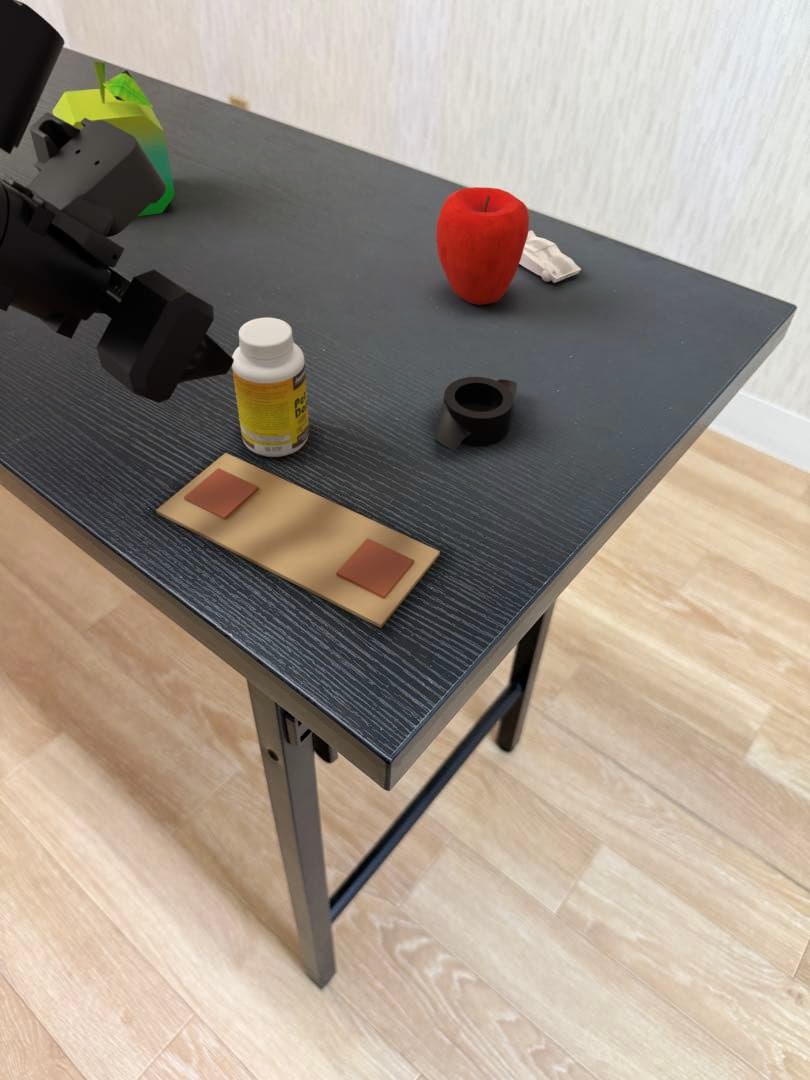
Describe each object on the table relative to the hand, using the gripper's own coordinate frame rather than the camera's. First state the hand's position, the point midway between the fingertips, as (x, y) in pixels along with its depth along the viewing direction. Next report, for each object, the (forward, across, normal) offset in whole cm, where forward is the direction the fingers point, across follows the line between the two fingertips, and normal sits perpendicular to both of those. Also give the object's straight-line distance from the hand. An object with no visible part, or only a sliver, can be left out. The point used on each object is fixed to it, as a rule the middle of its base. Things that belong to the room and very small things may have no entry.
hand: (189, 337), depth 55 cm
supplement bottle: (+13, 0, +4) cm, 14 cm away
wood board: (+9, -10, +8) cm, 16 cm away
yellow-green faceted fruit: (+24, +48, -6) cm, 54 cm away
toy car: (+42, +4, -24) cm, 48 cm away
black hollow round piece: (+23, -10, -5) cm, 26 cm away
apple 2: (+34, +4, -16) cm, 38 cm away
